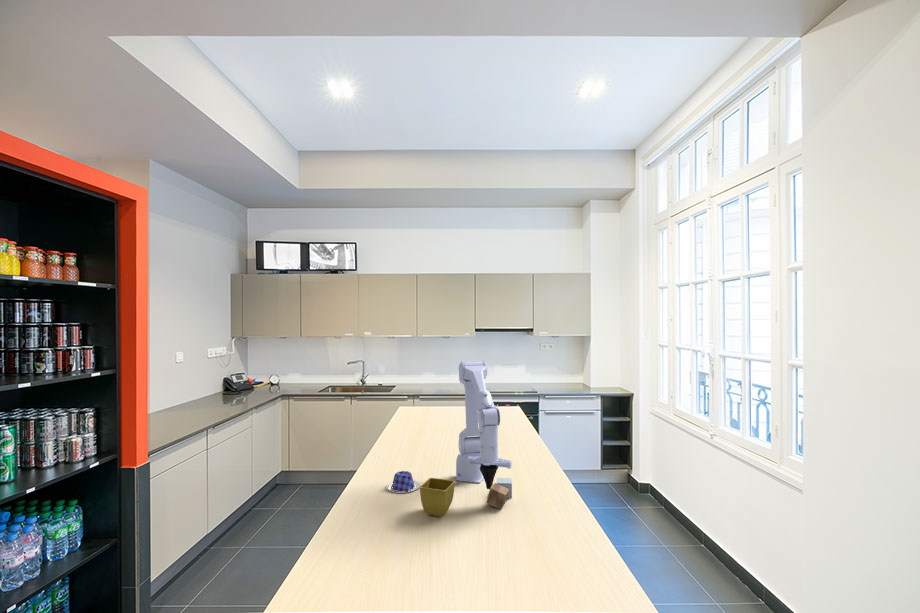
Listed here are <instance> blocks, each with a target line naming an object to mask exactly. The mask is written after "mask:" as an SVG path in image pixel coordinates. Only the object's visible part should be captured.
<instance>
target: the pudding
mask: <svg viewBox="0 0 920 613" xmlns="http://www.w3.org/2000/svg"><path fill="white" fill-rule="evenodd" d="M392 483H393V484H392ZM391 484H392V487H393V488H392V487H391V489H393V491H391V490H389V489H388V487H389V485H391ZM414 484H415V485H416V488H415V486H414ZM420 486H421V484H420V483H419V482H418V481H416V480H414V479H413V475H412V473H411V472H410V471H408V470H401V471H397V472H396V473H394V476H393V480H392V481H391V482H389V483H388V484H387V485H386V486H385V488H386V490H387V491H389V492H392V493H395V492H394V490H397V492H396V493H397V494H398V493H403V494H405V492H406V491H408V492H407V493H410V492H414V491H416V490H418V489H420ZM413 488H414V489H413ZM411 489H413V490H411ZM410 490H411V491H410ZM398 491H402V492H398Z"/></svg>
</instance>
